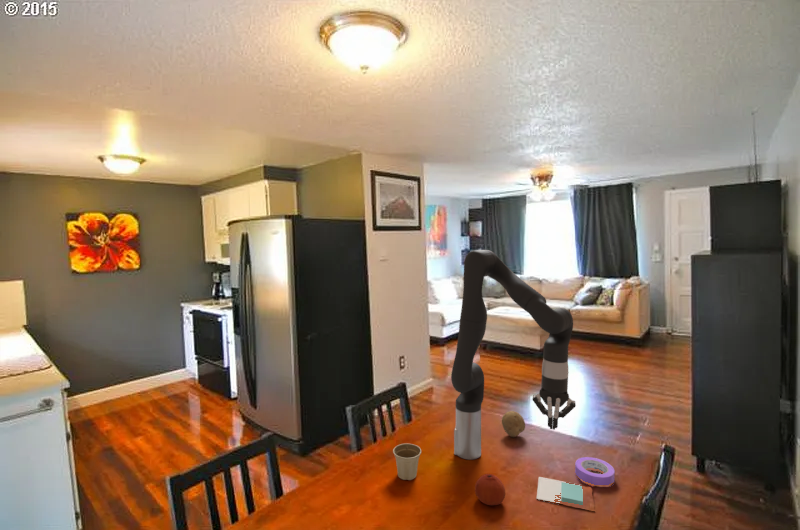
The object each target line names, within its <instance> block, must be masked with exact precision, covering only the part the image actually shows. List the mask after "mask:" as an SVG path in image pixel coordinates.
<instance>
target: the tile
mask: <svg viewBox="0 0 800 530" xmlns="http://www.w3.org/2000/svg"><path fill="white" fill-rule="evenodd" d="M564 482H565V481H563V482H562V484H561V501H562V502H568V503H574V504H579V505H583V489H582V486H580V485H581V484H579V485H575V484H576V483H574V484H569V483H570V482H569V483H564Z"/></svg>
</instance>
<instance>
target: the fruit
mask: <svg viewBox="0 0 800 530" xmlns="http://www.w3.org/2000/svg"><path fill="white" fill-rule="evenodd" d="M474 492H475V495H476V497H477V499H478V500H479V501H480V502H482V504H484V505H487V506H497V505H500V504H502V503H503V502H504V500H505V497H506V488H505V485H504V482H502V480H501V479H500V478H499V477H498V476H496V475H494V474H491V473H485V474H483V475H481V476H480V477H479V478H478V479H477V481H476V482H475V485H474Z"/></svg>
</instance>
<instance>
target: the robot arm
mask: <svg viewBox="0 0 800 530" xmlns="http://www.w3.org/2000/svg"><path fill="white" fill-rule="evenodd" d="M463 261H464V262H463V290H462V291H463V292H462V299H461V300H462V302H461V303H462V304H461V310H460V318H459V328H458V336H457V344H456V351H455V356H454V359H453V360H454V361H453V364H452V368H451V374H450V375H451V376H450V377H451V379H450V381H451V383H452V386H453V389H454V390H455V391H457V392H458V393H459V395H458V396H457V397H456V400H455V427H454V429H453V450H454V451H453V454H454V455H455V456H458V457H459V458H461V459H465V460H477V459H478V458H480V457H481V456H482V404H483V402H484V395H485V375H484V374H485V373H484V371H483V369H482V367H481V365H479V364H478V363H477V362H474V358H475V355H476V353H477V351H478V349H479V348H480V347H479V346H480V345H481V343H482V341H483V339H484V336H485V333H486V329H487V328H486V327H487V322H488V312H487V307H486V304H485V301H484V297H483V284H484V279H485V277H489V278H491V279H493V280H495V281H496V282H498V283H499V284H500V285H501V286H502V287H503V288H504V290H505V292H506V293H507V294H508V296H509V297H510V299H511V300H512V301H513V302H514V303H516V304H517V305H518V306H519V307H520V308H522V309H523V310H524V311H525V312H527V313H528V314H529V315H530V317H531V318H532V319H533V320H534V321H535V323H536V324H537V325H538V326H539V327H540V328H541V329H542V330H543V331H545V332H546V333H548V334H549V335H548V338H547V339H546V340H545V341H544V344H543V354H542V355H543V356H542V357H543V358H542V359H543V360H542V364H541V386H540V387H541V388H540V390H539V393H537V394H533V395H532V401H533V402H534V404H535V406H536V408H537V409H539V411H540V413H542V415H543V416H544V415H545V416H547V427H548V428H549V430H553V431H554V430H556V429H557V428H558V426H559V425H558V424H559V423H558V422H559V421H558V420H559V418H562V419H564V418H565V417H566V416H567V415H568V414H569V413H571V412H572V410H573V409H574V408H576V406H577V405H576V401H575V400H573V399H571V398H570V395H569V393H568V387H569V386H568V384H569V344H570V341H571V337H572V334H573V329H574V319H573V315H572V313H571V312H570V311H569V310H568V309H566V308H563V307H558V308H554V309H553V308H552V307H551V306H549V305H548V304H547V299H546V297H545V296H544V295H542V294H541V293H540V292H539V291H537V290H535V288H533V287H532V286H531V285H529V284H528V283H526V282H525V281H524V280H523V279H522V278H520V277H519V276H518V275H517V274H516V273H515V272H513V271H512V270H511V268H509V266H508V265H506V264H505V263H504V261H503V260H502V259H501V258H500V257H499V256H498V255H497V253H495V252H493V251H491V250H489V249H478V250H477V249H476V250H472V251H469V252H468V253H467V254H466V256H465V259H464V260H463ZM543 403H544V404H545V405H546V406H547V408H546V407H545V405H544V404H543ZM564 404H566V406H564ZM563 406H564V407H563ZM562 407H563V409H561V410H560V408H562ZM553 408H554V410H553ZM553 411H554V412H553Z"/></svg>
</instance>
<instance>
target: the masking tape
mask: <svg viewBox="0 0 800 530" xmlns="http://www.w3.org/2000/svg"><path fill="white" fill-rule="evenodd" d="M574 464H575V465H574V469H575V470H574V474H575V473H576V475H577V476H578V477H579V478H580V479H582V480H583V481H585V482H588V483H591V484H594V485H609V484H611V483H613V482H614V483H615V472H616V471H615V468H614V467H613V466H612V465H611V464H610V463H608V462H607V461H605V460H603V459H601V458H596V457H591V456H585V457H583V456H582V457H579V458H578V459H576V461H575V463H574ZM587 468H594V469H599V470H601V471H603V472H604V473H603V474H601V473H599V472H594V471H593V472H592V471H591V470H586V469H587ZM576 475H575V476H576Z"/></svg>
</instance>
